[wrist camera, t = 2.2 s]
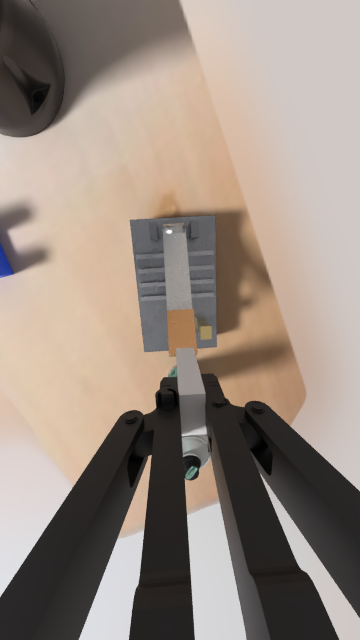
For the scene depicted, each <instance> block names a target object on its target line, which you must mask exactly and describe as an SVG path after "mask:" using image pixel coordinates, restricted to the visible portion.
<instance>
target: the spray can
mask: <svg viewBox="0 0 360 640" xmlns="http://www.w3.org/2000/svg"><path fill="white" fill-rule="evenodd" d="M168 377H177V365H176V366H174V367H173V368H172V369H171V370H170V372H169V374H168ZM206 430H207V429H206ZM182 448H183V463H184V478H185V479H187V480H194V479H196V478H197V477H198V475H199V469H201V468H203V467H204V466H205V465H206V464H207V463H208V462H209V460H210V458H211V455H210V452H208V433H207V434H202V435H189V436H182Z"/></svg>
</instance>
